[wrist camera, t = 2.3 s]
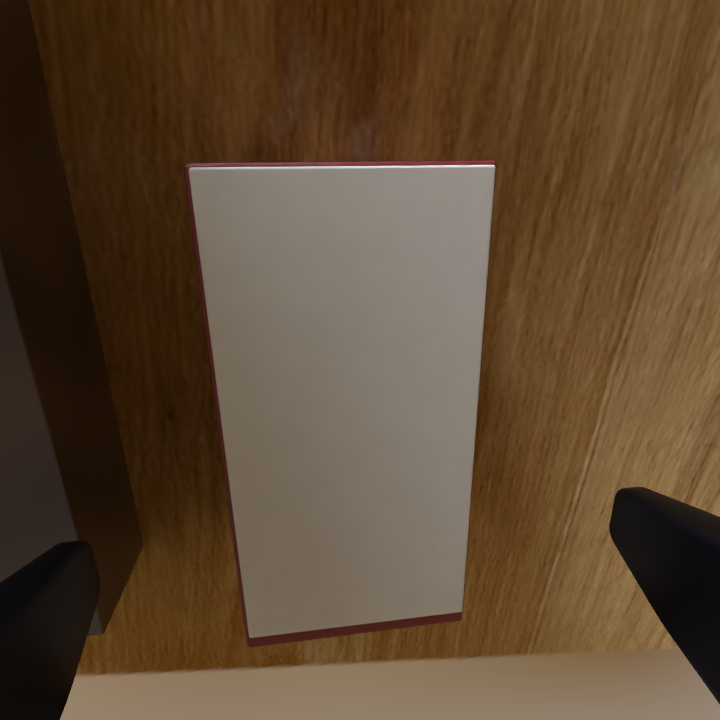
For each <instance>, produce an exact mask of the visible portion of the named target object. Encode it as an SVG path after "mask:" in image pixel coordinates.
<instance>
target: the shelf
mask: <svg viewBox="0 0 720 720" xmlns="http://www.w3.org/2000/svg"><path fill="white" fill-rule="evenodd" d="M80 540H85V541H88V542H89V543H90V544H91V546H92V549H93V553H94V557H95V561H96V564H97V568H98V572H99V576H100V581H101V591H100V596H99V600H98V603H97V606H96V610H95V613H94V616H93V619H92V623H91V626H90V629H89V632H88V636H92V635H100V634H104V632H105V630H106V628H107V626H108V623H109V621H110V619H111V617H112V615H113V612H114V610H115V608H116V606H117V604H118V601H119V599H120V597H121V595H122V592H123V590H124V588H125V586H126V584H127V581H128V579H129V577H130V575H131V573H132V570H133V568H134V566H135V564H136V562H137V559H138V557H139V555H140V553H141V550H142V548H143V541H142V537H141V532H140V527H139V523H138V518H137V513H136V509H135V504H134V499H133V495H132V490H131V485H130V480H129V476H128V471H127V466H126V462H125V457H124V452H123V448H122V443H121V438H120V434H119V429H118V424H117V419H116V415H115V410H114V405H113V401H112V396H111V391H110V387H109V382H108V377H107V372H106V368H105V363H104V358H103V354H102V349H101V344H100V340H99V335H98V330H97V326H96V321H95V316H94V311H93V307H92V302H91V297H90V293H89V288H88V283H87V279H86V274H85V269H84V265H83V260H82V255H81V250H80V246H79V241H78V236H77V232H76V227H75V222H74V218H73V213H72V208H71V203H70V199H69V194H68V189H67V185H66V180H65V175H64V171H63V166H62V161H61V157H60V152H59V147H58V142H57V138H56V133H55V128H54V124H53V119H52V114H51V110H50V105H49V100H48V96H47V91H46V86H45V81H44V77H43V72H42V67H41V63H40V58H39V53H38V49H37V44H36V39H35V35H34V30H33V25H32V20H31V16H30V11H29V6H28V2H27V0H0V582H2V581H3V580H5V579H6V578H8V577H9V576H11V575H12V574H14V573H15V572H17V571H18V570H19V569H21V568H22V567H24V566H25V565H27V564H28V563H30V562H31V561H33V560H34V559H36V558H37V557H39V556H40V555H42V554H43V553H45V552H46V551H48V550H49V549H50V548H52V547H53V546H55V545H57V544H59V543H62V542H70V541H80Z"/></svg>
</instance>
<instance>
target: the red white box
mask: <svg viewBox="0 0 720 720" xmlns="http://www.w3.org/2000/svg"><path fill="white" fill-rule="evenodd" d="M184 173H185V181H186V188H187V196H188V204H189V211H190V219H191V226H192V234H193V241H194V249H195V256H196V264H197V271H198V279H199V287H200V294H201V302H202V309H203V317H204V324H205V332H206V339H207V347H208V355H209V362H210V370H211V377H212V385H213V392H214V400H215V407H216V415H217V422H218V430H219V438H220V445H221V453H222V460H223V468H224V475H225V483H226V490H227V498H228V505H229V513H230V521H231V528H232V536H233V543H234V551H235V558H236V566H237V573H238V581H239V588H240V596H241V604H242V611H243V619H244V626H245V634H246V641H247V646H248V647H257V646H265V645H273V644H281V643H289V642H297V641H305V640H313V639H320V638H328V637H336V636H344V635H352V634H360V633H368V632H376V631H384V630H392V629H400V628H408V627H416V626H423V625H431V624H439V623H447V622H455V621H461V620H462V614H463V601H464V588H465V575H466V561H467V548H468V535H469V522H470V508H471V495H472V482H473V469H474V455H475V442H476V429H477V415H478V402H479V389H480V376H481V362H482V349H483V336H484V323H485V309H486V296H487V283H488V269H489V256H490V243H491V230H492V216H493V203H494V190H495V177H496V162H494V161H383V162H246V163H187V164H185V166H184Z"/></svg>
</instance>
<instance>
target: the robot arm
mask: <svg viewBox="0 0 720 720" xmlns="http://www.w3.org/2000/svg"><path fill="white" fill-rule="evenodd" d="M609 529H610V535H611V538H612V540H613V542H614V544H615V546H616V547H617V549H618V551H619V552H620V554H621V556H622V557H623V559H624V561H625V562H626V564H627V566H628V567H629V569H630V571H631V572H632V574H633V576H634V577H635V579H636V581H637V583H638V584H639V586H640V588H641V589H642V591H643V593H644V594H645V596H646V598H647V599H648V601H649V603H650V604H651V606H652V608H653V609H654V611H655V613H656V614H657V616H658V617H659V619H660V621H661V622H662V624H663V625H664V627H665V628H666V629H667V631H668V632H669V634H670V635H671V637H672V638H673V640H674V641H675V642H676V644H677V645H678V647H679V648H680V649H681V651H682V652H683V653H684V655H685V656H686V658H687V659H688V660H689V662H690V663H691V665H692V666H693V668H694V669H695V670H696V671H697V673H698V675H699V676H700V677H701V678H702V680H703V682H704V683H705V684H706V686H707V687H708V688H709V690H710V691H711V693H712V694H713V695H714V697H715V698H716V700H717V701H718V702H719V704H720V517H718V516H716V515H713V514H711V513H708V512H706V511H703V510H700V509H698V508H695V507H693V506H690V505H688V504H685V503H683V502H680V501H677V500H675V499H672V498H670V497H667V496H665V495H662V494H660V493H657V492H655V491H652V490H649V489H647V488H644V487H632V488H622V489H620V490H618V492H617V493H616V495H615V499H614V504H613V510H612V515H611V520H610V525H609ZM100 591H101V581H100V576H99V572H98V568H97V564H96V561H95V557H94V553H93V549H92V546H91V544H90V543H89V542H88V541H85V540H80V541H70V542H62V543H59V544H57V545H55V546H53V547H52V548H50V549H49V550H48V551H46V552H45V553H43V554H42V555H40V556H39V557H37V558H36V559H34V560H33V561H31V562H30V563H28V564H27V565H25V566H24V567H22V568H21V569H19V570H18V571H17V572H15V573H14V574H12V575H11V576H9V577H8V578H6V579H5V580H3V581H2V582H0V720H60V717H61V715H62V712H63V710H64V707H65V704H66V702H67V699H68V696H69V693H70V690H71V687H72V684H73V681H74V678H75V675H76V671H77V668H78V665H79V662H80V658H81V655H82V652H83V649H84V645H85V642H86V639H87V636H88V632H89V629H90V626H91V623H92V619H93V616H94V613H95V610H96V606H97V603H98V600H99V596H100Z"/></svg>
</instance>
